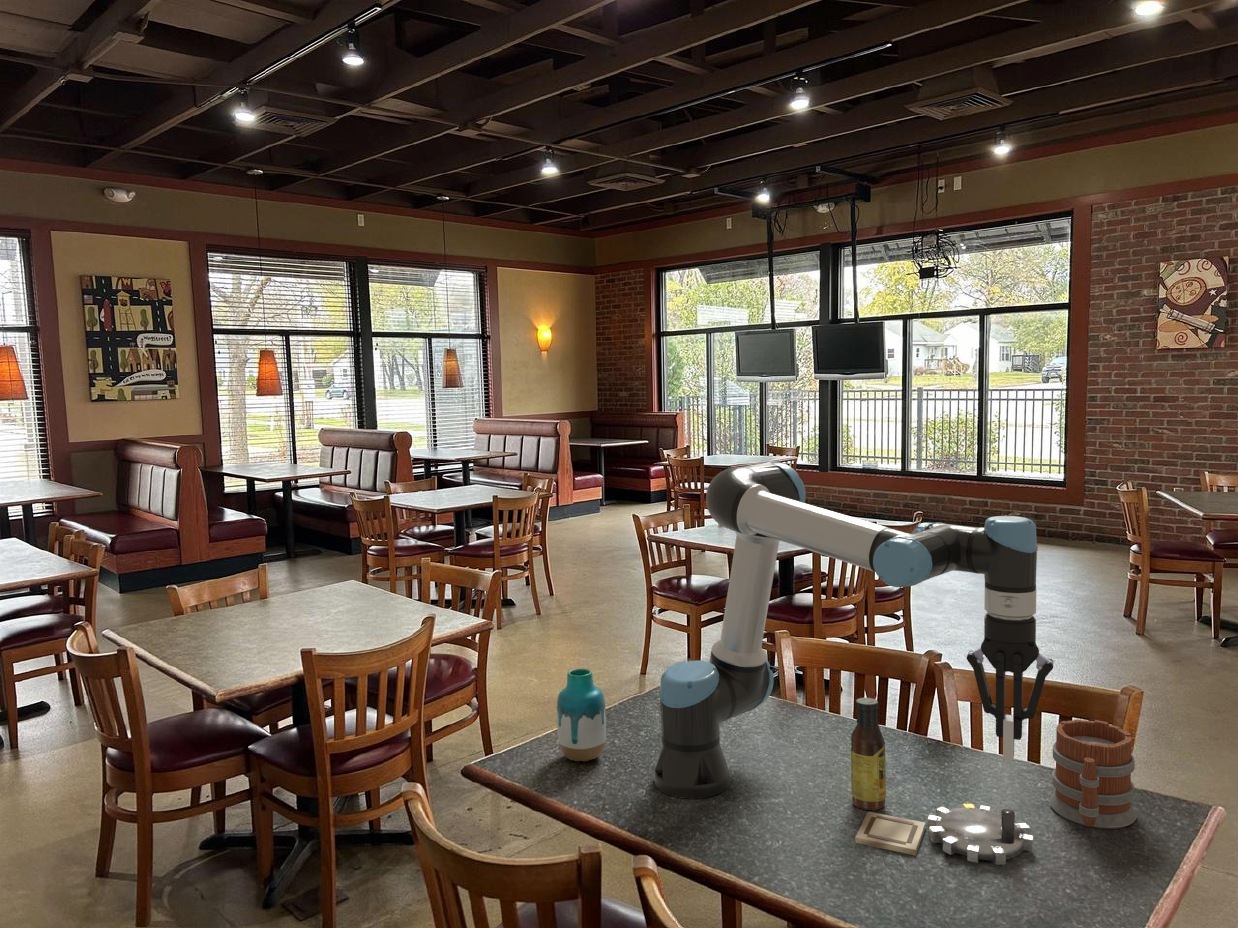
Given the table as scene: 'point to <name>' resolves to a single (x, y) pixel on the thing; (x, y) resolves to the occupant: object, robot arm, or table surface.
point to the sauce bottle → (868, 758)
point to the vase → (581, 717)
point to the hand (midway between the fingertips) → (1008, 756)
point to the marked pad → (891, 833)
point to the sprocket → (980, 833)
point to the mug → (1093, 774)
